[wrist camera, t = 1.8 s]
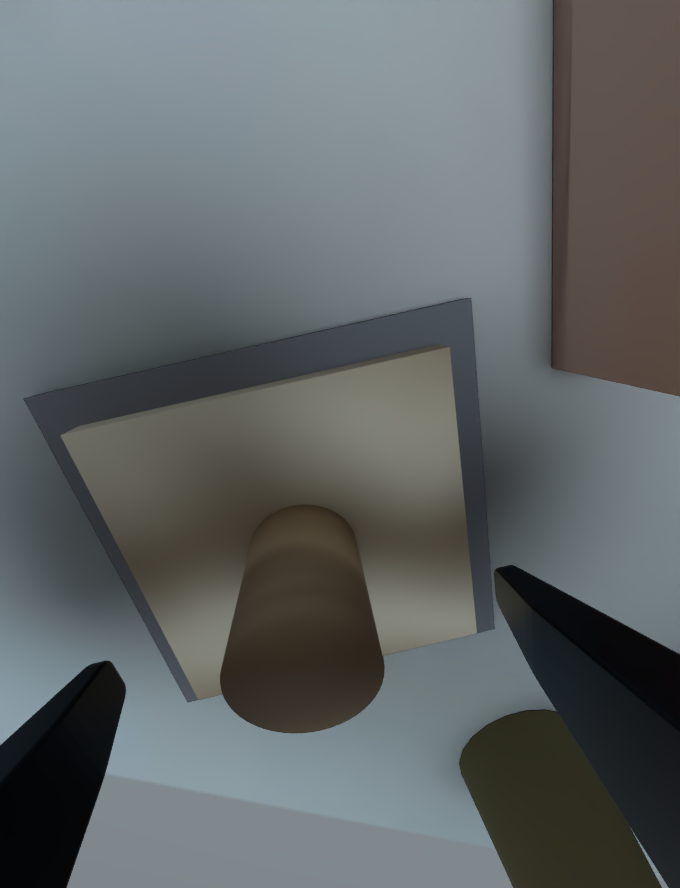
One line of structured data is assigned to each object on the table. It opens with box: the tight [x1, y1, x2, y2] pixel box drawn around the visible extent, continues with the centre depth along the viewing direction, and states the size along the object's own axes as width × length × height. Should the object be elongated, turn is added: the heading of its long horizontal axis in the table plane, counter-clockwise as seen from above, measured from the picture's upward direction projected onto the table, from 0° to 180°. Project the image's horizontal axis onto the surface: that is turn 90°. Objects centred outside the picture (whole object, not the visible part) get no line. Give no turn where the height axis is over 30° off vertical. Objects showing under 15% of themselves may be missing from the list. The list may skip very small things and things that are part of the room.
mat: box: [24, 298, 495, 702], centre depth 12 cm, size 12×12×1 cm
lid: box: [60, 344, 477, 733], centre depth 9 cm, size 10×10×5 cm
